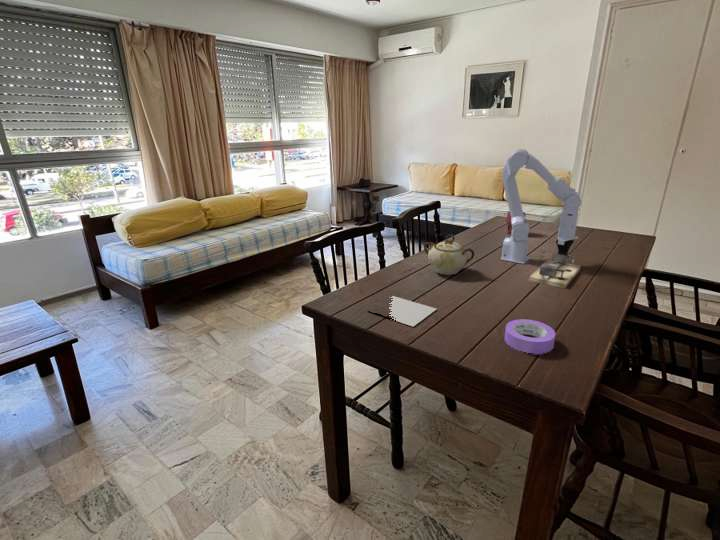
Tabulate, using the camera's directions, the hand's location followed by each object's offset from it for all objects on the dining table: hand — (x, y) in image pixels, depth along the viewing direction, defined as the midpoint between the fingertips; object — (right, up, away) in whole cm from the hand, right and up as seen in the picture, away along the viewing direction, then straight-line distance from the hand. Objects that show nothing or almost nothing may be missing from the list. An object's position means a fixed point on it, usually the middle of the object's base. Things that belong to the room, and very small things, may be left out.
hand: (562, 258), depth 149 cm
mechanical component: (-1, +14, +46) cm, 48 cm away
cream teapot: (-46, -6, -2) cm, 47 cm away
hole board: (-7, -7, -9) cm, 13 cm away
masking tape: (-36, -24, -51) cm, 67 cm away
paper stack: (-61, -17, -32) cm, 71 cm away
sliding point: (-1, -2, -3) cm, 4 cm away
